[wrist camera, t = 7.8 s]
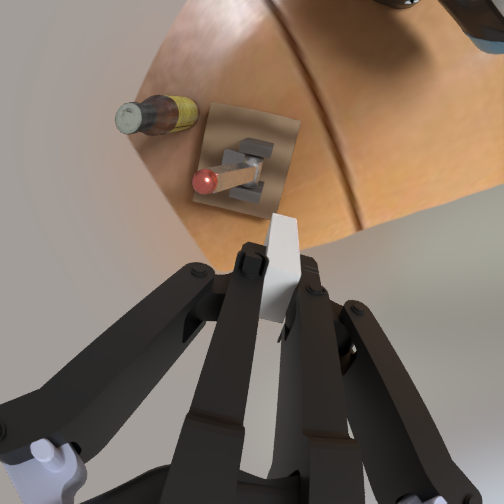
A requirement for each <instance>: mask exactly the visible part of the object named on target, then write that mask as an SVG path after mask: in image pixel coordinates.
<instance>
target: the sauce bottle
mask: <svg viewBox="0 0 504 504" xmlns="http://www.w3.org/2000/svg"><path fill="white" fill-rule="evenodd" d="M198 118H199V107H198V105H197V104H196V102H195V101H193V100H192V99H189V98H187V97H180V96H169V95H168V96H167V95H155V96H151V97H149V98H147V99H146V100H144V101H143V102H142V103H137V102H130V103H126V104H124V105H122V106H121V107H120V108H119V109H118V110H117V113H116V117H115V123H116V127H117V128H118V130H119V131H120V132H122V133H124V134H133V133H137V132H139V131H140V132H142V133H144V134H146V135H150V136H154V135H162V134H167V133H171V132H176V131H181V130H185V129H188V128H190V127H191V126H193V125H194V124H195V123H196V122H197V120H198Z"/></svg>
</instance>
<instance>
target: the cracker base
mask: <svg viewBox="0 0 504 504" xmlns="http://www.w3.org/2000/svg"><path fill="white" fill-rule="evenodd" d="M300 124H301V121H299V120H295V119H292V118H288V117H284V116H280V115H276V114H271V113H267V112H263V111H258V110H253V109H249V108H244V107H238V106H233V105H227V104H222V103H216V102H211V105H210V110H209V114H208V119H207V124H206V129H205V134H204V139H203V144H202V149H201V154H200V160H199V165H198V171H199V170H201V169H203V168H209V167H215V166H221V164H222V160H223V155H224V150H225V149H227V148H232V149H236V150H239V152H243V153H248V154H252V155H256V156H260V157H263V158H264V161H263V165H262V169H261V173H260V177H259V182H258V186H257V188H248V187H244V186H241V185H238V186H235V187H232V188H229V189H226V190H222V191H219V192H216V193H212V192H211V193H209V194H200V193H198V192H196V191H195V190H194V195H193V201H194V202H198V203H203V204H207V205H211V206H215V207H220V208H224V209H228V210H232V211H236V212H240V213H244V214H249V215H253V216H257V217H261V218H265V219H268V220H271V218H272V214H273V213H277V210H278V206H279V202H280V199H281V195H282V191H283V187H284V184H285V180H286V176H287V173H288V169H289V165H290V161H291V158H292V154H293V150H294V146H295V143H296V139H297V135H298V131H299V127H300Z"/></svg>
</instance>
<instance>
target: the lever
mask: <svg viewBox="0 0 504 504" xmlns="http://www.w3.org/2000/svg"><path fill="white" fill-rule="evenodd" d="M263 161H264V158H263V157H260V156H256V155H252V154H248V153H243V152H239V150H236V149H232V148H227V149H225V150H224V155H223V160H222V164H221V166H215V167H209V168H203V169H201V170H199V171H197V172H196V173H195V174H194V176H193V178H192V186H193V188H194V190H195V191H196V192H198V193H200V194H209V193H211V192H212V193H216V192H219V191H222V190H226V189H229V188H232V187H235V186H238V185H241V186H244V187H248V188H257V186H258V182H259V177H260V173H261V169H262V165H263Z"/></svg>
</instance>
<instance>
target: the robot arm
mask: <svg viewBox="0 0 504 504" xmlns="http://www.w3.org/2000/svg"><path fill="white" fill-rule="evenodd" d="M375 1H377V2H379V3H381V4H384V5H386V6H390V7H394V8H409V7H412V6H414V5H415V4H417V3H418V2H419V1H420V0H375ZM438 1H439V3H440V4H441V5H442V6H443V7H444V8H445V9H446V10H447V12H448V13H449V14H450V15H451V16H452V17H453V19H454V20H455V21H456V22H457V23H458V25H459V26H460V27H461V29H462V31H463V32H464V33H465V34H466V35H467V36H468V37H469V38H470V39H471V41H472V42H473V43H474V44H475V46H476V47H477V48H478V49H480V50H481V51H483V52H486V53H489V54H504V0H438ZM285 315H286V320H285V324H284V326H283V329H282V331H281V334H280V336H279V339H278V341H277V342H278V343H279V342H280V340H281V357H280V374H279V389H278V403H277V416H276V428H275V440H274V451H273V462H272V466H271V469H270V471H269V473H268V476H267V479H263V478H260V477H257V476H254V475H252V474H249V473H246V472H244V471H242V470H239V468H240V462H241V455H242V449H243V443H244V436H245V427H244V426H243V421H244V414H245V408H246V402H247V395H248V389H249V382H250V375H251V369H252V361H253V355H254V349H255V342H256V335H257V327H258V321H259V318H261V319H266V320H270V321H274V322H278V323H283V320H284V318H285ZM206 321H217V324H216V327H215V330H214V333H213V336H212V339H211V343H210V346H209V349H208V352H207V355H206V359H205V362H204V365H203V368H202V371H201V374H200V378H199V381H198V384H197V387H196V390H195V394H194V397H193V400H192V404H191V407H190V410H189V412H188V413H187V415H186V418H185V420H184V423H183V427H182V429H181V433H180V436H179V439H178V443H177V446H176V449H175V453H174V456H173V459H172V462H171V464H169V465H164V466H160V467H156V468H154V469H151V470H149V471H147V472H145V473H143V474H141V475H140V476H137V477H136V478H134V479H132V480H130V481H128V482H126V483H124V484H122V485H120V486H118V487H116V488H114V489H112V490H110V491H108V492H105V493H103V494H101V495H99V496H96V497H94V498H92V499H90V500H87V501H85V502H82V503H80V504H365V491H364V476H363V464H364V467H365V470H366V473H367V476H368V479H369V482H370V485H371V488H372V491H373V493H374V496H375V498H376V500H377V502H378V504H482V496H481V494H480V492H479V491H478V489H477V488H476V487H475V486H474V485H473V484H472V483H471V481H470V480H469V479H468V478H467V477H466V476H465V474H464V473H463V472H462V471H461V470H460V469H459V468H458V466H457V465H456V464H455V463H454V462H453V461H452V459H451V457H450V454H449V452H448V450H447V448H446V446H445V444H444V441H443V439H442V437H441V435H440V433H439V431H438V429H437V427H436V425H435V423H434V421H433V419H432V417H431V415H430V413H429V411H428V409H427V407H426V405H425V404H424V402H423V400H422V398H421V396H420V394H419V392H418V391H417V389H416V387H415V385H414V383H413V381H412V380H411V378H410V376H409V374H408V372H407V371H406V369H405V367H404V365H403V364H402V362H401V360H400V358H399V357H398V355H397V353H396V352H395V350H394V348H393V347H392V345H391V343H390V342H389V340H388V338H387V337H386V335H385V333H384V332H383V330H382V328H381V327H380V325H379V323H378V322H377V320H376V319H375V317H374V315H373V314H372V312H371V311H370V309H369V308H368V307H367V306H365V305H364V304H363V303H361V302H359V301H355V300H348V301H346V302H345V304H344V306H342V305H339V304H337V303H335V302H333V301H331V300H330V299H329V294H328V292H327V290H326V289H325V288H324V287H323V286H321V282H320V277H319V271H318V265H317V263H316V261H315V260H314V259H313V258H312V257H308V256H304V255H301V254H300V253H299V241H298V230H297V219H295V218H291V217H287V216H284V215H280V214H276V213H273V214H272V218H271V221H270V225H269V229H268V232H267V236H266V239H265V243H264V246H263V245H260V244H256V243H252V242H247V243H245V244H244V245H243V246H242V249H241V251H239V252H238V254H237V258H236V262H235V267H234V271H233V272H232V273H229V274H225V275H216V274H215V271H214V270H213V268H212V267H210V266H208V265H207V264H203V263H198V262H193V263H188V264H186V265H185V266H183V267H182V268H181V269H180V270H178V271H177V272H176V273H175V274H173V275H172V276H171V277H170V278H168V279H167V280H166V281H165V282H164V283H162V284H161V285H160V286H159V287H157V288H156V289H155V290H154V291H152V292H151V293H150V294H149V295H148V296H146V297H145V298H144V299H143V300H142V301H140V302H139V303H138V304H137V305H136V306H134V307H133V308H132V309H131V310H130V311H128V312H127V313H126V314H125V315H124V316H122V317H121V318H120V319H119V320H118V321H117V322H115V323H114V324H113V325H112V326H111V327H109V328H108V329H107V330H106V331H105V332H103V333H102V334H101V335H100V336H99V337H98V338H96V339H95V340H94V341H93V342H92V343H91V344H90V345H88V346H87V347H86V348H85V349H84V350H83V351H81V352H80V353H79V354H78V355H77V356H76V357H75V358H74V359H72V360H71V361H70V362H69V363H68V364H67V365H66V366H64V367H63V368H62V369H61V370H60V371H59V372H58V373H57V374H56V375H54V376H53V377H52V378H51V379H50V380H49V381H48V382H47V383H46V384H44V386H42V387H41V388H40V389H38V390H35V391H33V392H31V393H28V394H26V395H23V396H21V397H18V398H16V399H13V400H11V401H8V402H6V403H3V404H1V405H0V461H1V462H2V463H3V465H4V467H5V469H6V471H7V473H8V475H9V477H10V479H11V481H12V483H13V485H14V487H15V489H16V491H17V493H18V495H19V496H20V498H21V500H22V502H23V503H24V504H74V496H75V494H76V492H77V491H78V490H79V489H80V488H81V487H82V486H83V485H84V484H85V482H86V479H87V470H86V467H85V465H84V464H85V463H87V462H88V461H89V460H90V459H92V458H93V457H94V456H96V455H97V454H98V453H99V452H100V451H101V450H102V449H103V448H104V447H105V446H106V445H107V444H108V442H109V441H110V440H111V439H112V438H113V436H114V435H115V434H116V433H117V432H118V431H119V429H120V428H121V427H122V426H123V424H124V423H125V422H126V421H127V420H128V418H129V417H130V416H131V415H132V414H133V412H134V411H135V410H136V409H137V408H138V406H139V405H140V404H141V403H142V402H143V400H144V399H145V398H146V397H147V395H148V394H149V393H150V392H151V390H152V389H153V388H154V387H155V386H156V385H157V383H158V382H159V381H160V380H161V378H162V377H163V376H164V375H165V374H166V372H167V371H168V370H169V369H170V367H171V366H172V365H173V364H174V362H175V361H176V360H177V359H178V358H179V356H180V355H181V354H182V353H183V352H184V350H185V349H186V348H187V347H188V345H189V344H190V343H191V341H192V340H193V339H194V338H195V337H196V336H197V334H198V333H199V332H200V330H201V329H202V328H203V327H204V326H205V324H206ZM354 345H355V347H356V350H357V351H356V352H355V353H354V351H353V349H352V348H353V346H354ZM347 419H348V422H349V424H350V427H351V430H352V433H353V436H354V439H352V438H350V436H349V434H348V426H347ZM362 462H363V464H362Z"/></svg>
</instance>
